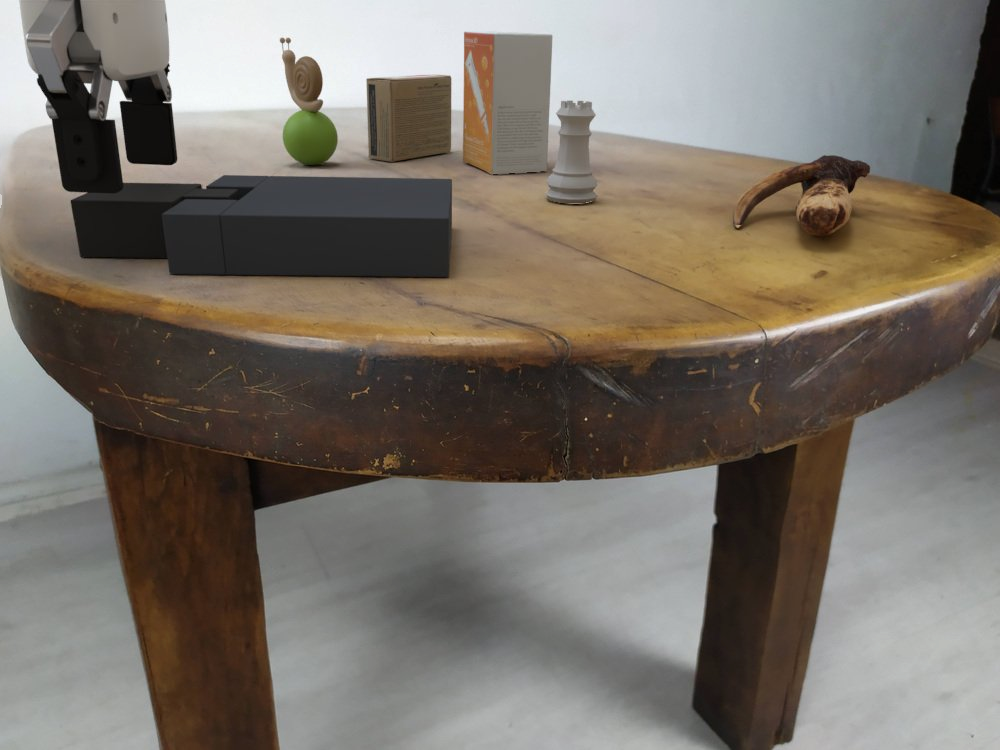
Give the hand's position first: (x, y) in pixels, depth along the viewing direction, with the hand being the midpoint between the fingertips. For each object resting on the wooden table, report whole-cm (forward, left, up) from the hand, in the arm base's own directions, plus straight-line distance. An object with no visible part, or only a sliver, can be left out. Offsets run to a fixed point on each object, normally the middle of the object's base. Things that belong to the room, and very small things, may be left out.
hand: (125, 176), depth 52 cm
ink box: (+15, +41, -5) cm, 44 cm away
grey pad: (+12, 0, -4) cm, 13 cm away
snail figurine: (+5, +34, -5) cm, 35 cm away
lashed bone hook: (+47, +9, -5) cm, 48 cm away
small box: (+25, +34, -5) cm, 43 cm away
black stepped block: (+2, 0, -4) cm, 5 cm away
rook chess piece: (+30, +17, -5) cm, 35 cm away
